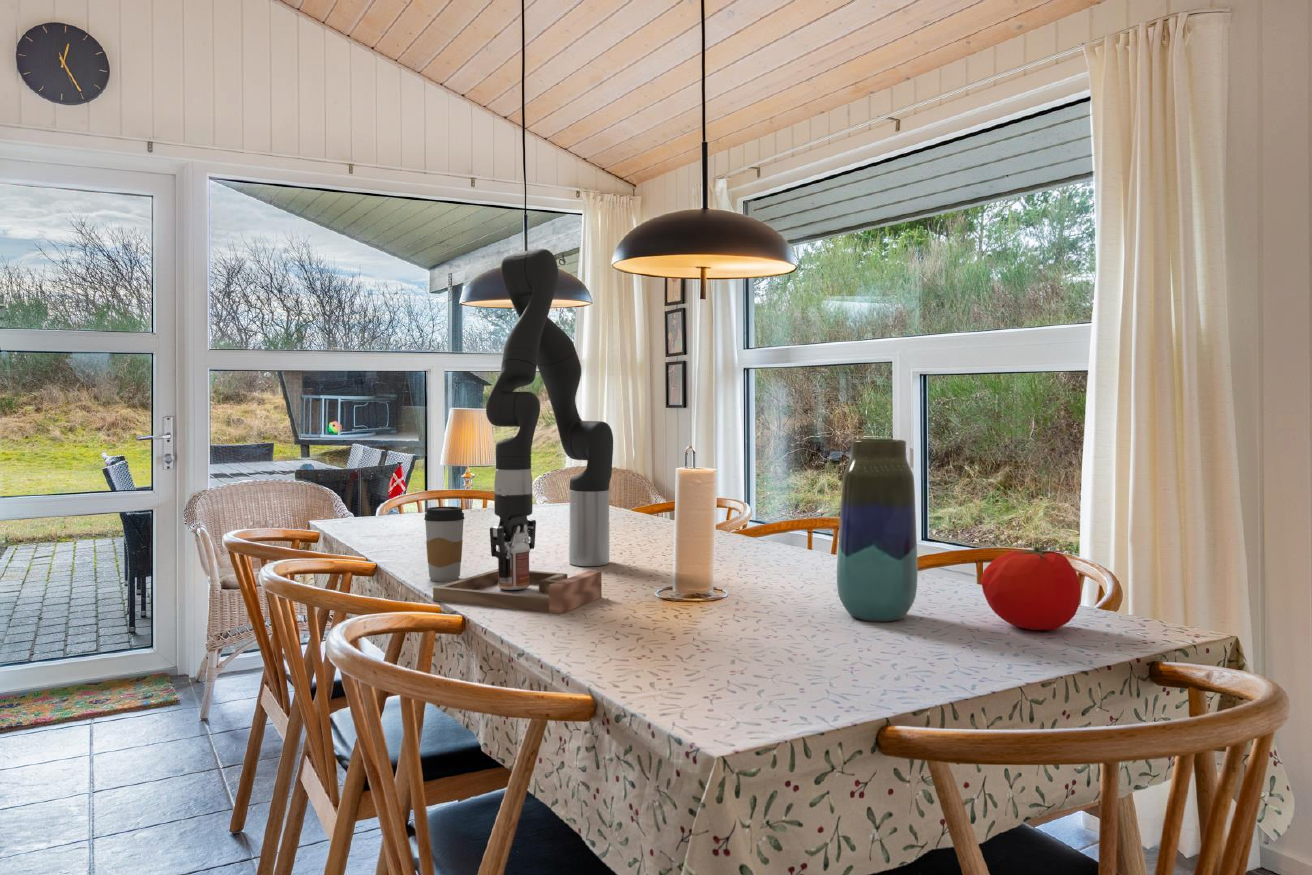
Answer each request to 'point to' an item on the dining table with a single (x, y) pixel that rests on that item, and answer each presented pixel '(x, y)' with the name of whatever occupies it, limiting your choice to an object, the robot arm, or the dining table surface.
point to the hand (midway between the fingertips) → (513, 574)
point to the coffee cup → (444, 542)
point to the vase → (877, 532)
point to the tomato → (1032, 588)
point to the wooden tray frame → (557, 585)
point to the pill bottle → (517, 566)
